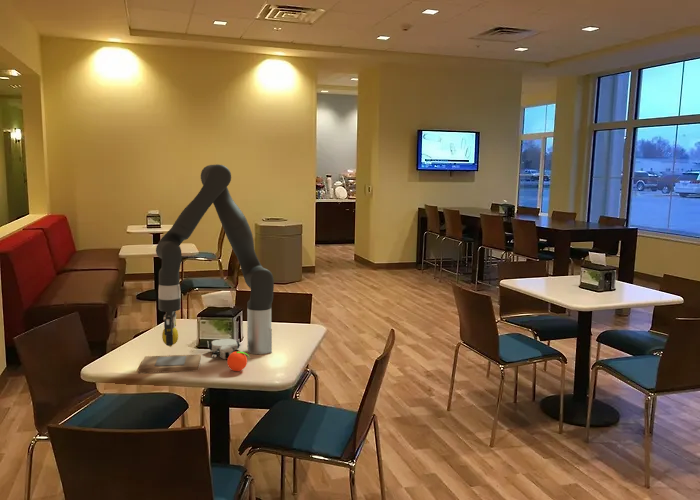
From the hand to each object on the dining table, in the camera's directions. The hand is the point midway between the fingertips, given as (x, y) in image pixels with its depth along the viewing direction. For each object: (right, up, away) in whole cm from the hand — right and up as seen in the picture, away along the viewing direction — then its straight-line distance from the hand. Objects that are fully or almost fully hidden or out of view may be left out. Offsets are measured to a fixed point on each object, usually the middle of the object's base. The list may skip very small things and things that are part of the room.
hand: (170, 342), depth 213 cm
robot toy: (+17, -7, +14) cm, 23 cm away
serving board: (0, -8, +1) cm, 8 cm away
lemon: (0, -2, 0) cm, 2 cm away
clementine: (+25, -10, -3) cm, 27 cm away
